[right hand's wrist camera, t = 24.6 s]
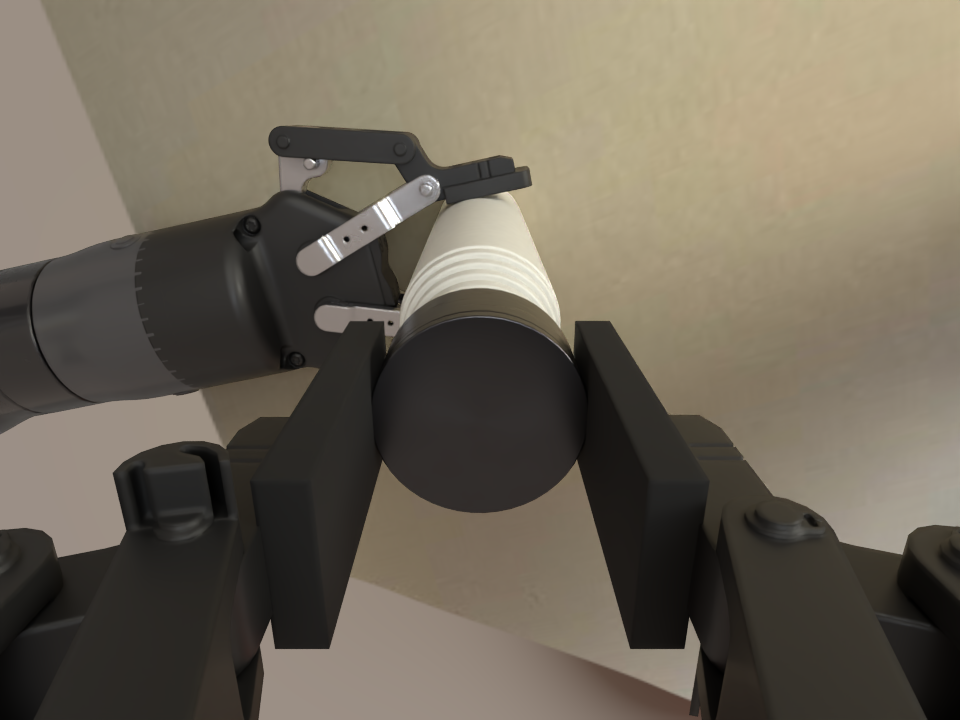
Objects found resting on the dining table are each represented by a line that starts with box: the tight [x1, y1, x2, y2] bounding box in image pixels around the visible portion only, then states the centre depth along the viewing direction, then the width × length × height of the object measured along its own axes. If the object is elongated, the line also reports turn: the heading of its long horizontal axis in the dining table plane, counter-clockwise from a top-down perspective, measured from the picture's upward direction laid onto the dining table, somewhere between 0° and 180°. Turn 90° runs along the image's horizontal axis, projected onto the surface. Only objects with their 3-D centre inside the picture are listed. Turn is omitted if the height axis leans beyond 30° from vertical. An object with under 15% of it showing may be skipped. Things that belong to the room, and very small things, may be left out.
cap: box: [372, 288, 588, 513], centre depth 13 cm, size 4×4×2 cm
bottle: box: [399, 192, 560, 328], centre depth 24 cm, size 5×5×23 cm
